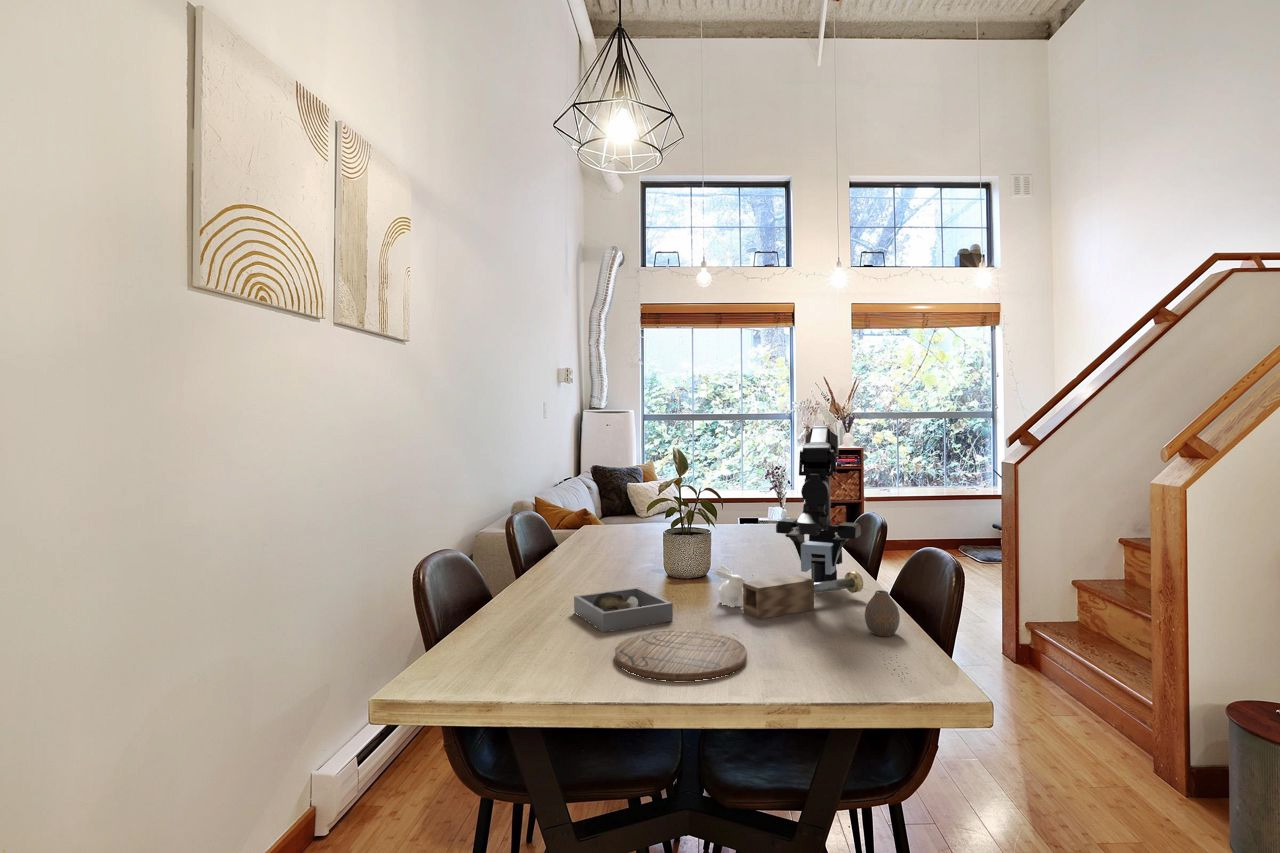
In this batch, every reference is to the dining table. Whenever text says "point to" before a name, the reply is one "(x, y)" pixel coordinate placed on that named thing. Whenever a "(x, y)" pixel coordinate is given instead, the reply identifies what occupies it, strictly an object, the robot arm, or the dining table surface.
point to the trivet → (680, 655)
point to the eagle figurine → (615, 601)
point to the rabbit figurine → (730, 588)
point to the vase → (882, 614)
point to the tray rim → (625, 610)
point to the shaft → (841, 584)
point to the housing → (778, 596)
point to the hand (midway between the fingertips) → (818, 564)
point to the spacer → (816, 548)
